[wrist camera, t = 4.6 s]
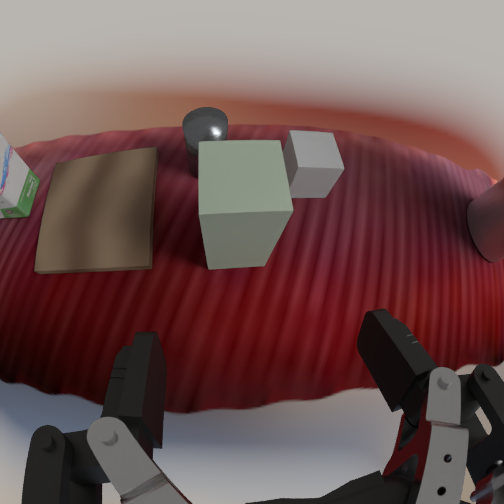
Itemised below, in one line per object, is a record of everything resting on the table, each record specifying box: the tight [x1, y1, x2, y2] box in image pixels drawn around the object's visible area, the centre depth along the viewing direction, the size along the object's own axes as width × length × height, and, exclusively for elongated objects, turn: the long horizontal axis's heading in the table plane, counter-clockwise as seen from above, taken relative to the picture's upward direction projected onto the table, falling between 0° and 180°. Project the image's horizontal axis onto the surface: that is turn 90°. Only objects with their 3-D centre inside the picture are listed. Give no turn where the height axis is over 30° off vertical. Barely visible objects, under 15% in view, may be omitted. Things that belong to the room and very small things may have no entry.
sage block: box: [199, 140, 293, 269], centre depth 19 cm, size 5×5×10 cm
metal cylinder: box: [183, 107, 228, 179], centre depth 23 cm, size 4×4×6 cm
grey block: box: [283, 130, 344, 198], centre depth 24 cm, size 4×4×5 cm
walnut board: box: [34, 147, 159, 274], centre depth 23 cm, size 12×12×1 cm
